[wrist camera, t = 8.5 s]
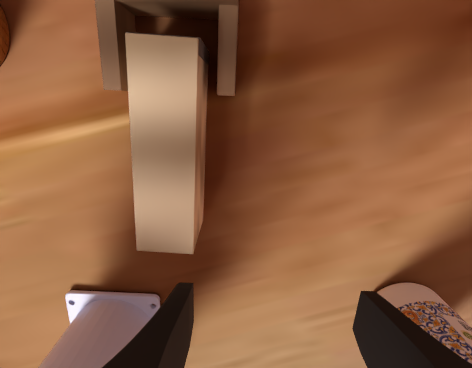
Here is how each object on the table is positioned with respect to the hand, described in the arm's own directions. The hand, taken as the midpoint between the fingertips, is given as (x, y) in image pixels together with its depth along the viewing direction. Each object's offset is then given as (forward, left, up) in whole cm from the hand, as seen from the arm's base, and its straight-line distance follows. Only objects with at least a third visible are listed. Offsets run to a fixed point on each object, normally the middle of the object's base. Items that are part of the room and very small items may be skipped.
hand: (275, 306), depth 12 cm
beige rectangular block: (+5, +6, -10) cm, 13 cm away
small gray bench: (+11, +6, -10) cm, 16 cm away
